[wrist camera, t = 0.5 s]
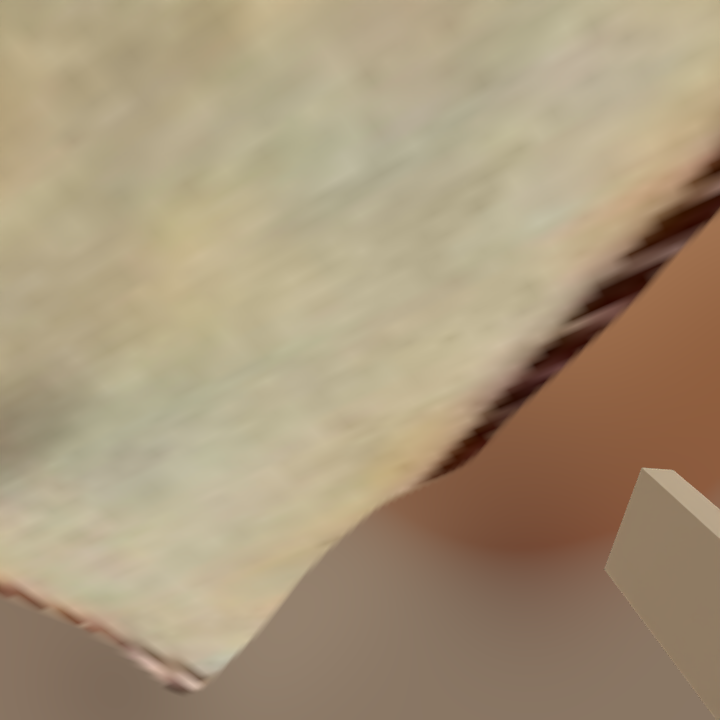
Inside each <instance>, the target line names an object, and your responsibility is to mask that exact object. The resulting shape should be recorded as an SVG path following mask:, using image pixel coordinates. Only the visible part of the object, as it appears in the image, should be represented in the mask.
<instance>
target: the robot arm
mask: <svg viewBox="0 0 720 720" xmlns="http://www.w3.org/2000/svg"><path fill="white" fill-rule="evenodd" d="M604 570H605V571H606V572H607V573H608V575H609V576H610V577H611V579H612V580H613V582H614V583H615V584H616V586H617V587H618V588H619V590H620V591H621V592H622V594H623V595H624V596H625V598H626V599H627V600H628V602H629V603H630V605H631V606H632V607H633V609H634V610H635V611H636V612H637V614H638V615H639V616H640V618H641V619H642V621H643V622H644V623H645V625H646V626H647V627H648V629H649V630H650V631H651V633H652V634H653V635H654V637H655V638H656V640H657V641H658V642H659V644H660V645H661V646H662V648H663V649H664V650H665V652H666V653H667V654H668V656H669V657H670V658H671V660H672V661H673V662H674V664H675V665H676V667H677V668H678V669H679V671H680V672H681V673H682V675H683V676H684V677H685V679H686V680H687V681H688V683H689V684H690V685H691V687H692V688H693V689H694V691H695V692H696V693H697V695H698V696H699V698H700V699H701V700H702V702H703V703H704V704H705V705H706V707H707V708H708V710H709V711H710V712H711V713H712V715H713V716H714V718H715V719H716V720H720V509H719V508H717V507H716V506H715V505H714V504H713V503H711V502H710V501H709V500H708V499H707V498H706V497H704V496H703V495H702V494H701V493H700V492H698V491H697V490H696V489H695V488H693V486H691V485H690V484H689V483H688V482H686V481H685V480H684V479H683V478H682V477H681V476H679V475H678V474H677V473H676V472H675V471H674V470H664V469H652V468H642V469H641V471H640V474H639V477H638V479H637V482H636V485H635V487H634V490H633V493H632V496H631V498H630V501H629V504H628V506H627V509H626V512H625V514H624V517H623V520H622V523H621V525H620V528H619V531H618V533H617V536H616V539H615V542H614V544H613V547H612V550H611V552H610V555H609V558H608V560H607V563H606V566H605V569H604Z"/></svg>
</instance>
